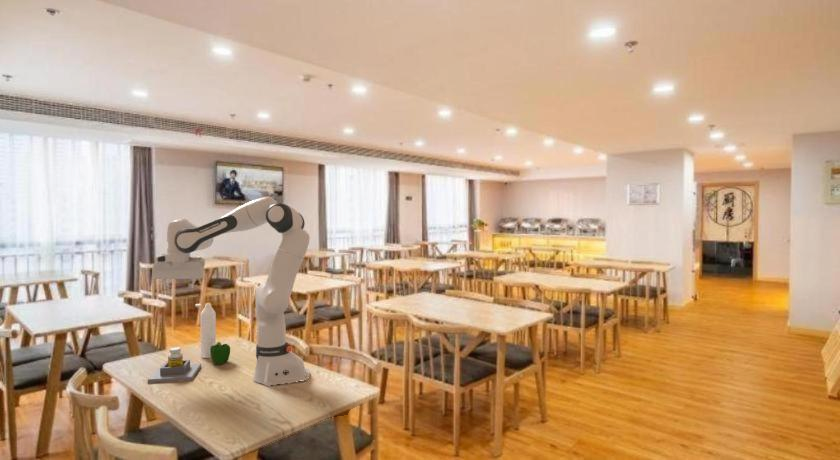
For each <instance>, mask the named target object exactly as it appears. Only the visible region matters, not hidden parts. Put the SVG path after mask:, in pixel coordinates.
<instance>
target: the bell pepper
mask: <svg viewBox="0 0 840 460" xmlns="http://www.w3.org/2000/svg"><path fill="white" fill-rule="evenodd" d="M210 353H211V361H212V363H213V364H214V365H219V366H220V365H223V364H225V363H227V362H228V361H229V359H230V355H231V347H230V345H229V344H228V343H224V344H222V343H221V341H218V342H217V341H216V345H215V346H211V348H210Z"/></svg>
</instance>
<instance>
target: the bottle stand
mask: <svg viewBox="0 0 840 460" xmlns="http://www.w3.org/2000/svg"><path fill="white" fill-rule="evenodd" d="M201 368H202V363H191V359H183V366H180V367H168V360H166V362H164V364H163V365H159V367H158V368H157V369H156V370H155V371H154V372H153V373H152V374H151V375H150V376H149V377H148V379H147V384H155V383H157V384H158V383H171V382H173V383H174V382H176V383H177V382H188V381H189V382H190V381H193V379H194V377H196V375H197V374H198V372H199V370H200V369H201Z"/></svg>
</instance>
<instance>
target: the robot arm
mask: <svg viewBox="0 0 840 460" xmlns="http://www.w3.org/2000/svg"><path fill="white" fill-rule="evenodd" d="M305 223H306V222H305V219H304V217H303V216H302V214H301V213H300V212H298V211H297V210H296V209H295V208H293V207H291V206H290V205H288V204H286V203H281V202H277V200H276V199H275V198H274V197H271V196H262V197H259V198H256V199H253V200H251V201H248V202H246V203H244V204H242V205H240V206H238V207H236V208H234V209H233V210H232V211H229V212H228V213H226V214H224V215H223V216H220V217H219V218H217V219H215V220H213V221H210V222H208V223H205V224H202V225H197V224H194V223H193V222H191V221H190V220H189V219H186V218H185V219H175V220H172V221H170V222H169V223H168V225H167V231H166V240H167V251H166V252H167V253H163V254H161V255H158V256H156V257H154V262H155V263H154V264H153V265H152V271H151V272H152V273H151V275H152V276H151V277H152V278H153V279H154V280H161V283H162V284H163V286H164V290H170V287H171V286H170V284H168V283H167V280H176V279H177V280H180V279H181V280H182V279H183V280H184V279H187V280H188V279H189V280H190V279H191V280H190V281H191V283H189V284H188V289H189V290H193V289H194V285H195V283H196V281H197V279H203V278H204V277H205V273H206V272H205V265H206V260H205V259H204V258H202V257H200V256H191V253H193V252H198V251H201V250H205V249H208V248H210V247H211V246H212V244H213V243H214V238H217V237H219V236H221V235H224V234H229V233H235V232H245V231H250V230H253V229H255V228H258V227H261V226H262V225H265V224H269V226H270V227H271V228H272V229H274V230H275V231H276V232H277V233H278V234H281V236H282V237H281V238H282V239H281V241H280V244H279V246H278V249H277V251H276V253H275V254H274V258H273V260H272V262H271V265H270V266H269V267H270V268H269V272H268V276H267V279H266V281H265V282H262V283H261V284H259V285H258V286H257V288H256V290H255V298H254V299H255V312H256V313H255V314H256V315H255V316H256V325H257V326H256V327H257V339H256V340H257V341H256V343H257V344H256V347H255V358H256V363H255V365H256V366H255V371H254V374H253V377H252V380H253V382H255V383H258V384H263V385H264V386H266V387H271V385H273V386H278V385H277V384H281V385H284V384H283V383H288V384H291V383H290V382H296V381H300V380H305V379H307V378H308V377H309V375H310V376H311V373H310V370H309V368H307V367H305V364H304V361H303V359H302V357H300V356H298V355H297V354H296V353H294V352H292V346H291V345H292V344H291V343H290V342H287V341H286V328H287V327H286V320H285V319H286V318H285V311H286V310H287V309H288V307H289V303H290V299H291V295H292V292H293V288H294V284H295V280H296V279H297V275H298V273H299V270H300V268H301V265H302V263H303V261H304V258H305V257H306V253H307V250H308V247H309V244H310V241H311V240H310V239H311V238H310V234H309V233H308V232H307V231H306V230H305ZM309 378H310V377H309ZM309 378H308V379H309ZM308 379H307V380H308ZM296 383H297V382H296Z"/></svg>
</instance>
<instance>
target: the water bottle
mask: <svg viewBox="0 0 840 460" xmlns="http://www.w3.org/2000/svg"><path fill="white" fill-rule="evenodd" d="M195 307H196V308H200V307H202V304H201V303H195ZM199 315H200V357H201V358H202V359H210V358H211V353H210V348H211V346H215V345H216V344H217V341H216V340H217V338H216V337H217V322H216V321H217V320H216V317H217V314H216V310H215V309H214V308H213V307H212V304H211V302H206V303H205V305H204V308H203V309H202V311H201V312H200V314H199ZM211 359H212V358H211Z"/></svg>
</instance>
